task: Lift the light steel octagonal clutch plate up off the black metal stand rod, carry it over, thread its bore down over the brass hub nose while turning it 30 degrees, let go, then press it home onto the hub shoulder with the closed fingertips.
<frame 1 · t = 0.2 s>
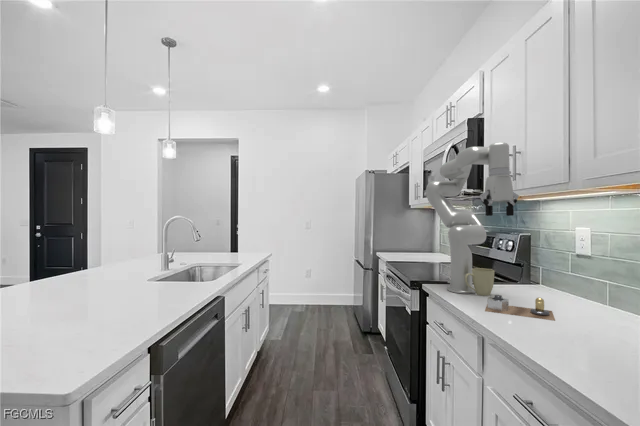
hand: (499, 215, 132), 36 cm above the worktop, fingers open, 9 cm apart
stand rod: (498, 311, 122), resting on base board
clutch plate: (498, 308, 122), point 1 cm above the worktop, touching base board
hub: (539, 317, 115), resting on base board
base board: (518, 314, 119), on the worktop
mug: (481, 297, 144), on the worktop
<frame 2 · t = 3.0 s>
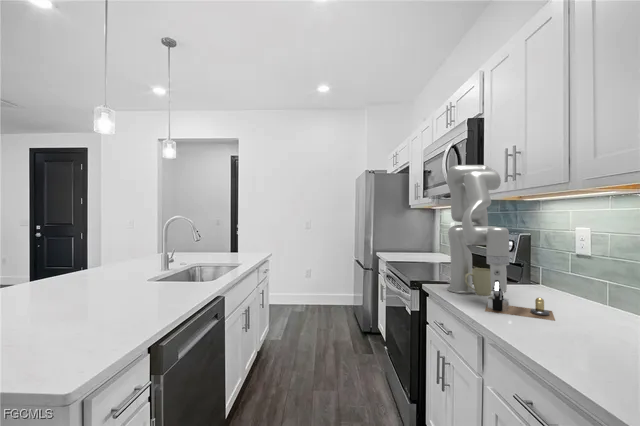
hand: (498, 307, 122), 2 cm above the worktop, fingers closed on clutch plate, 6 cm apart
clutch plate: (498, 308, 122), point 1 cm above the worktop, touching base board, gripper
everything else where it was.
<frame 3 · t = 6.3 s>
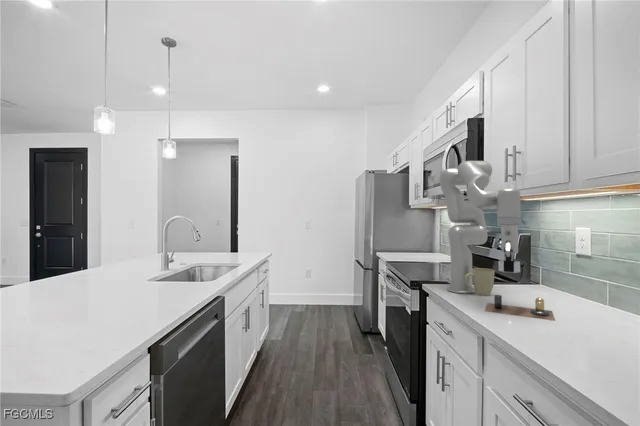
hand: (509, 270, 120), 16 cm above the worktop, fingers closed on clutch plate, 6 cm apart
clutch plate: (509, 271, 120), point 16 cm above the worktop, touching gripper
everything else where it was.
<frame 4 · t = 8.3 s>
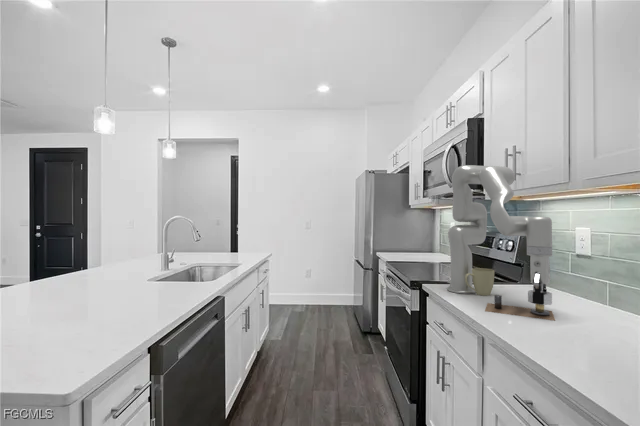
hand: (539, 301, 115), 6 cm above the worktop, fingers closed on clutch plate, 6 cm apart
clutch plate: (539, 302, 115), point 5 cm above the worktop, touching gripper
everything else where it was.
when the fingers open (3 cm above the worktop, at t = 9.7 s): clutch plate stays where it is, resting on hub.
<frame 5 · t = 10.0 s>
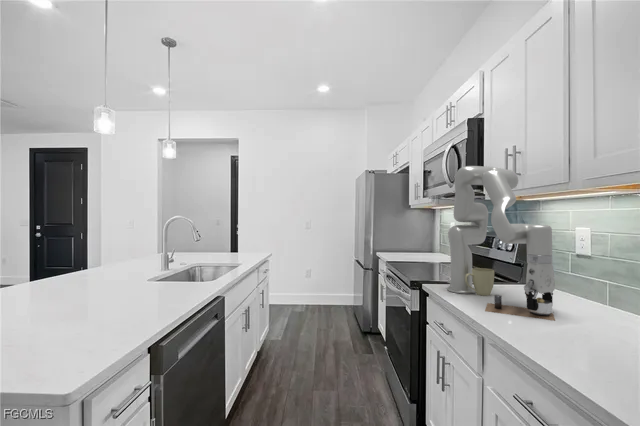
hand: (539, 307, 115), 3 cm above the worktop, fingers open, 9 cm apart
clutch plate: (539, 310, 115), point 2 cm above the worktop, touching hub
everything else where it was.
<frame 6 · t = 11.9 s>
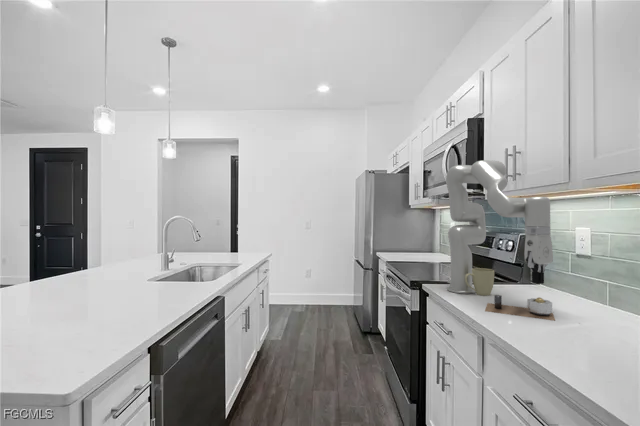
hand: (538, 282, 116), 12 cm above the worktop, fingers closed
nothing on the worktop moved.
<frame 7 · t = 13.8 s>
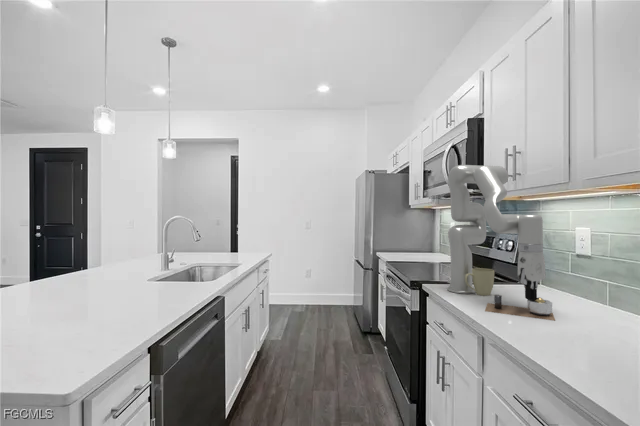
hand: (530, 299, 118), 6 cm above the worktop, fingers closed
clutch plate: (539, 310, 115), point 2 cm above the worktop, touching gripper, hub
everything else where it was.
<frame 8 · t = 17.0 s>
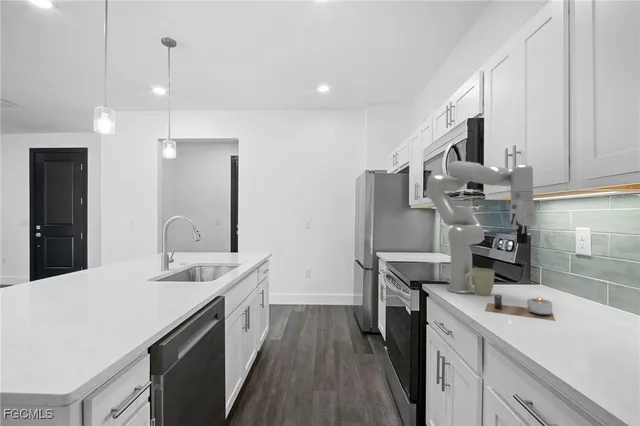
hand: (522, 243, 128), 25 cm above the worktop, fingers closed
clutch plate: (539, 310, 115), point 2 cm above the worktop, touching hub
everything else where it was.
at the end: clutch plate 0.1 cm off-centre on the hub, point 2.2 cm above the hub's base; clutch plate tilted 0°; the gripper is holding nothing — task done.
